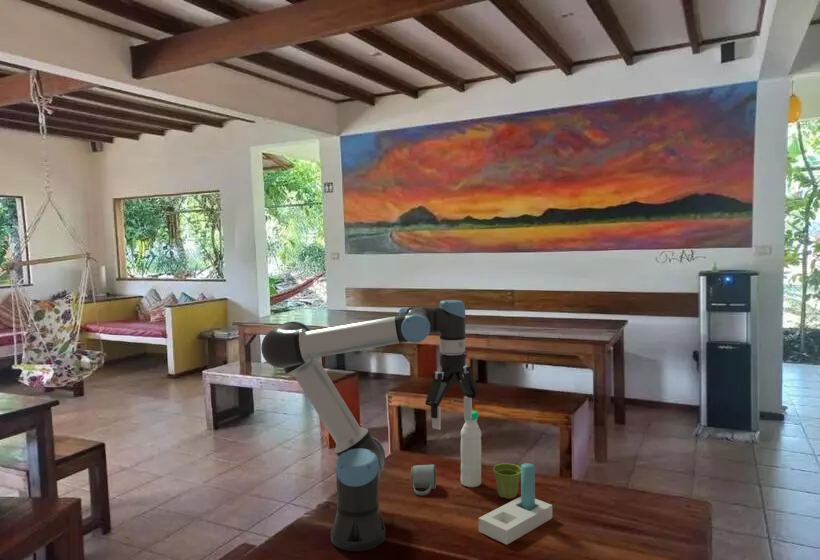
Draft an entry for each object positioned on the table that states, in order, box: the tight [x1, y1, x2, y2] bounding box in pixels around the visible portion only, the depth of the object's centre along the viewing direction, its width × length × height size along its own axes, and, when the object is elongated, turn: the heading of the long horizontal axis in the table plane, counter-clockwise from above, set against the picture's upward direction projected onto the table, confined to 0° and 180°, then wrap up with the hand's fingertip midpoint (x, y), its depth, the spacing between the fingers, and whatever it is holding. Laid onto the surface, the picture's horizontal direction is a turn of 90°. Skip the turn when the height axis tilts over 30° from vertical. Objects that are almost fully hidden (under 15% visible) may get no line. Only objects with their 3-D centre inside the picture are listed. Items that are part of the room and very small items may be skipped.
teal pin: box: [520, 462, 536, 511], centre depth 171 cm, size 4×4×15 cm
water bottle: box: [460, 410, 482, 488], centre depth 196 cm, size 7×7×25 cm
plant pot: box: [492, 463, 521, 499], centre depth 188 cm, size 9×9×9 cm
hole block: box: [478, 496, 553, 545], centre depth 168 cm, size 10×22×4 cm, turn 133°
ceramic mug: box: [410, 464, 437, 496], centre depth 192 cm, size 11×8×8 cm
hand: (452, 423), depth 171 cm, fingers open, 13 cm apart
